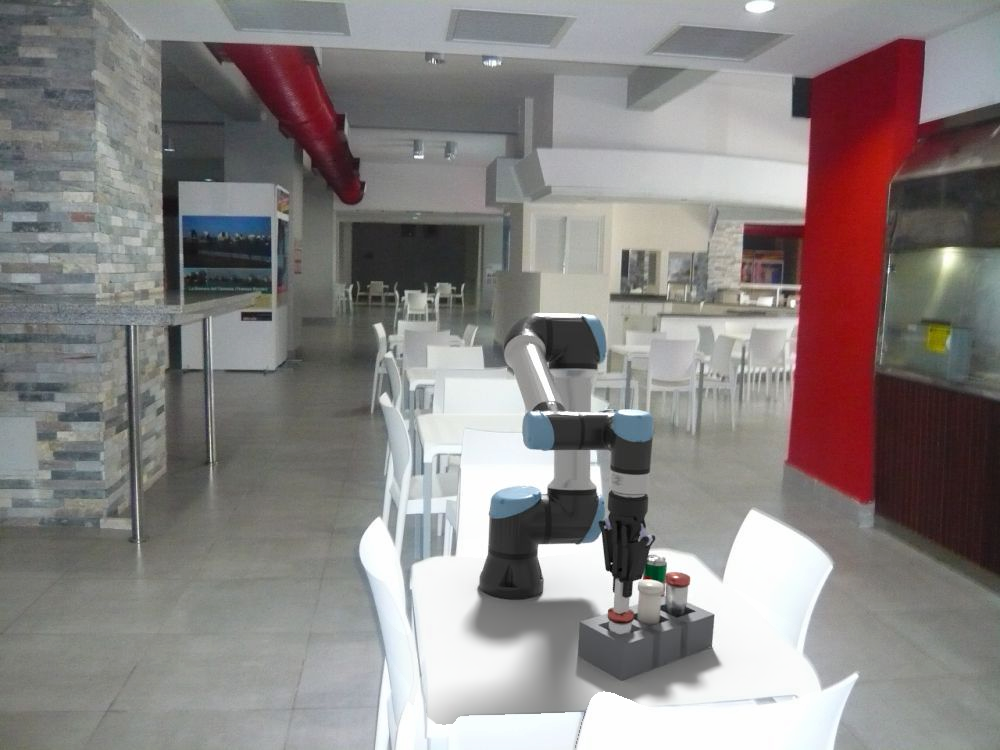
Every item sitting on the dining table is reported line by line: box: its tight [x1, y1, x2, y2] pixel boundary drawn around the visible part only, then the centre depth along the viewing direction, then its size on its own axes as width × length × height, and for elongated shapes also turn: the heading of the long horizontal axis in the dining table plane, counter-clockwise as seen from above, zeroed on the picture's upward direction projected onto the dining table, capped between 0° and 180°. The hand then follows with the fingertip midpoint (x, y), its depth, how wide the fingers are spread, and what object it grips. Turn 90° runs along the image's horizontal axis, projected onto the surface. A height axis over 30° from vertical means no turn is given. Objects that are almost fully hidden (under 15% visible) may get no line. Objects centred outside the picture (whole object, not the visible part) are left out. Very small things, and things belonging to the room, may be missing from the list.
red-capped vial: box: [607, 606, 634, 636], centre depth 169 cm, size 5×5×9 cm
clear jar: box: [664, 571, 691, 618], centre depth 179 cm, size 5×5×9 cm
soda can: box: [642, 554, 668, 597], centre depth 195 cm, size 5×5×12 cm
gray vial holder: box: [577, 596, 715, 681], centre depth 174 cm, size 26×12×7 cm, turn 128°
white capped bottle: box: [637, 579, 664, 627], centre depth 174 cm, size 5×5×9 cm
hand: (621, 611), depth 169 cm, fingers closed
